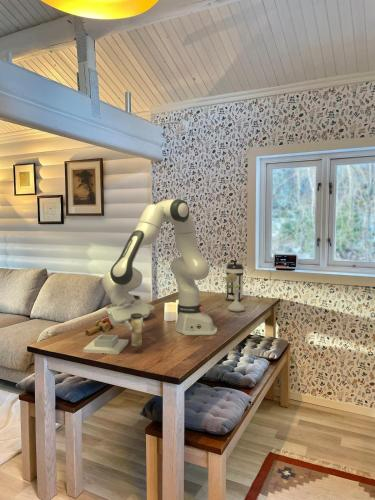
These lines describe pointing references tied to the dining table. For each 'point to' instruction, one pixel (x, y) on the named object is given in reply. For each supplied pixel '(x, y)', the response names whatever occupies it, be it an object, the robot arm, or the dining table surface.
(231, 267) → the coffee press
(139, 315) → the peg
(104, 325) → the kendama
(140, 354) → the dining table surface
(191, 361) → the dining table surface
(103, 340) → the holder
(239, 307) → the flower in vase
